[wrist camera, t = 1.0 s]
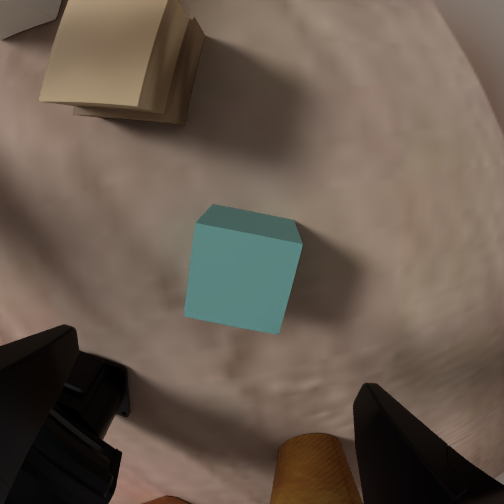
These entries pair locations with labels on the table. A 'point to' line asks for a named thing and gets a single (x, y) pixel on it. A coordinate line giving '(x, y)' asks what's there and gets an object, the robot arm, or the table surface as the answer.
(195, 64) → the tower base
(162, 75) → the tower top
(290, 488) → the disposable coffee cup
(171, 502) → the whiskey bottle
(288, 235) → the teal block
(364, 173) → the table surface
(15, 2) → the medicine bottle
